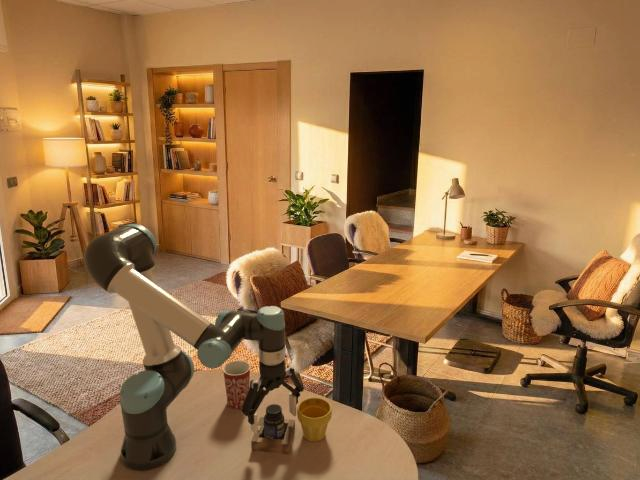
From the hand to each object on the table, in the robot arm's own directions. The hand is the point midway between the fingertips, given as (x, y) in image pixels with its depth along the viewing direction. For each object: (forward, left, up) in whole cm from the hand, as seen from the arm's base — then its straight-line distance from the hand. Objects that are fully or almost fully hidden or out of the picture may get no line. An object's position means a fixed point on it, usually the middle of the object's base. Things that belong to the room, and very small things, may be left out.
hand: (274, 422), depth 146 cm
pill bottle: (0, 0, -6) cm, 6 cm away
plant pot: (+12, +4, -6) cm, 14 cm away
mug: (-16, +18, -6) cm, 25 cm away
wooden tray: (0, 0, -6) cm, 6 cm away
